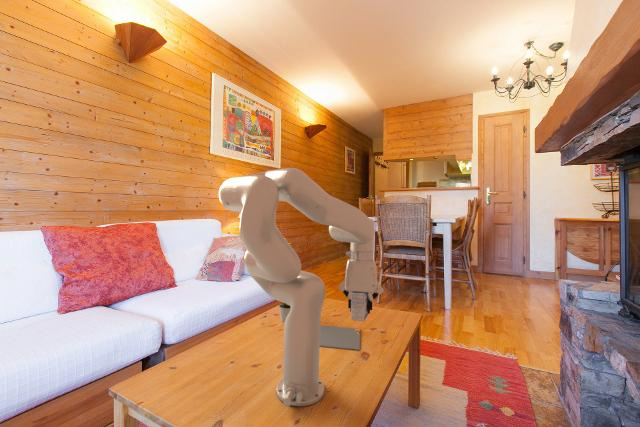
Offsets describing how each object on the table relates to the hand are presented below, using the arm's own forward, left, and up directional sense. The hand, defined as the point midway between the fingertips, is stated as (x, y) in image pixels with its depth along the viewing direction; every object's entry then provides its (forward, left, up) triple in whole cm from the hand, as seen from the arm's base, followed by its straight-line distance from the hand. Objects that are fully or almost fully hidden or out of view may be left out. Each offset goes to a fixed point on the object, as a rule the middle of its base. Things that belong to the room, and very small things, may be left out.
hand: (360, 310), depth 96 cm
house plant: (+25, +31, -16) cm, 42 cm away
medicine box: (0, 0, -2) cm, 2 cm away
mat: (+14, +11, -15) cm, 23 cm away
